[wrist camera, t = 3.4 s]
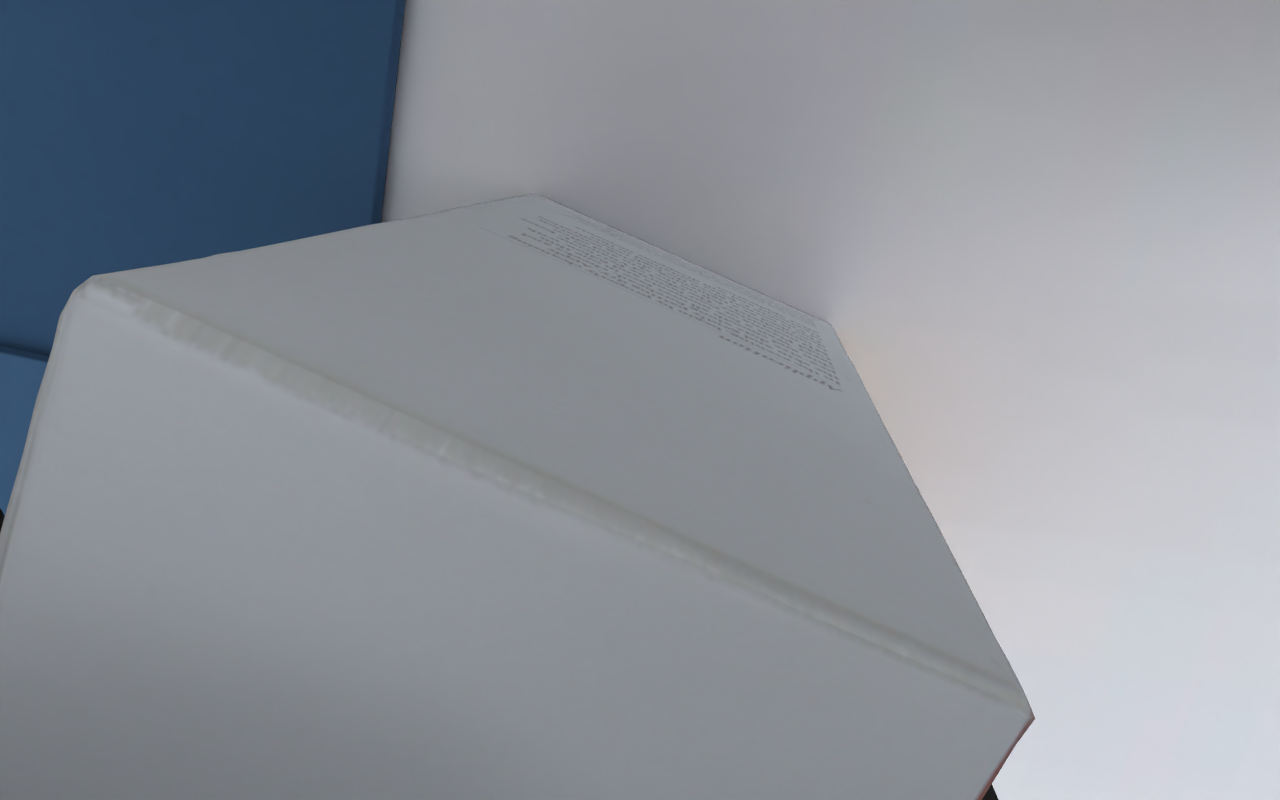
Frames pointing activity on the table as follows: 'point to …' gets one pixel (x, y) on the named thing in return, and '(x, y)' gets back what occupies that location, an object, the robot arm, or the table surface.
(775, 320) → the small box
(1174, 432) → the table surface
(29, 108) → the cloth
